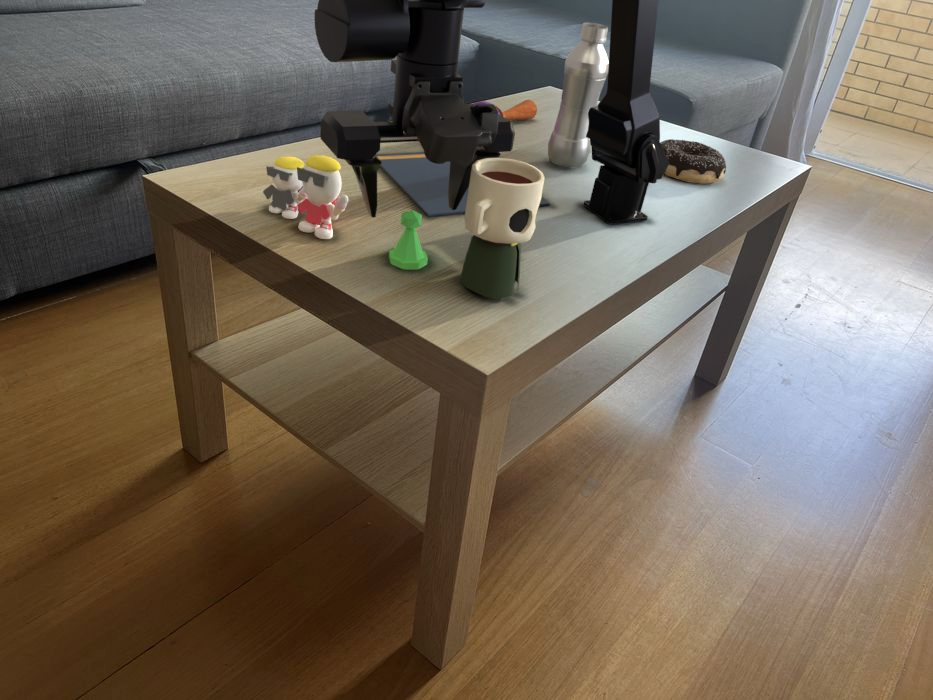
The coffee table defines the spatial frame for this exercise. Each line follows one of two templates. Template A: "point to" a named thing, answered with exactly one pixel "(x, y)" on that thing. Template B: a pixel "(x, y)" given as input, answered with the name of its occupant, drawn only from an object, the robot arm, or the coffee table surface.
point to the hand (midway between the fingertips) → (413, 212)
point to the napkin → (424, 182)
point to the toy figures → (307, 192)
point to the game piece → (409, 244)
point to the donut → (693, 161)
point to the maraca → (517, 110)
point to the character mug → (499, 223)
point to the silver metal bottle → (579, 97)
